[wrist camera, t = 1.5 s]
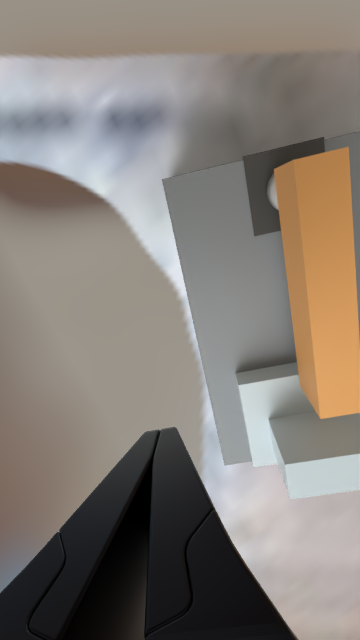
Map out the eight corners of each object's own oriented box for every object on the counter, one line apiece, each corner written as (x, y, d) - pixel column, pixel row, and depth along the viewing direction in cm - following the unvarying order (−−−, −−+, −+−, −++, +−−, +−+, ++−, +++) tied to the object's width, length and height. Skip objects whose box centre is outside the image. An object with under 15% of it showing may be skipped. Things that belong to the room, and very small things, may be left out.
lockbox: (357, 138, 17) (414, 114, 13) (369, 391, 22) (414, 437, 17) (168, 184, 18) (161, 176, 14) (218, 417, 23) (224, 466, 18)
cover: (380, 347, 16) (443, 393, 12) (383, 429, 17) (440, 495, 13) (235, 373, 17) (248, 425, 13) (249, 451, 18) (266, 519, 14)
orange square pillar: (309, 159, 13) (352, 142, 10) (327, 367, 16) (366, 411, 12) (263, 170, 13) (289, 157, 10) (290, 373, 16) (317, 419, 13)
